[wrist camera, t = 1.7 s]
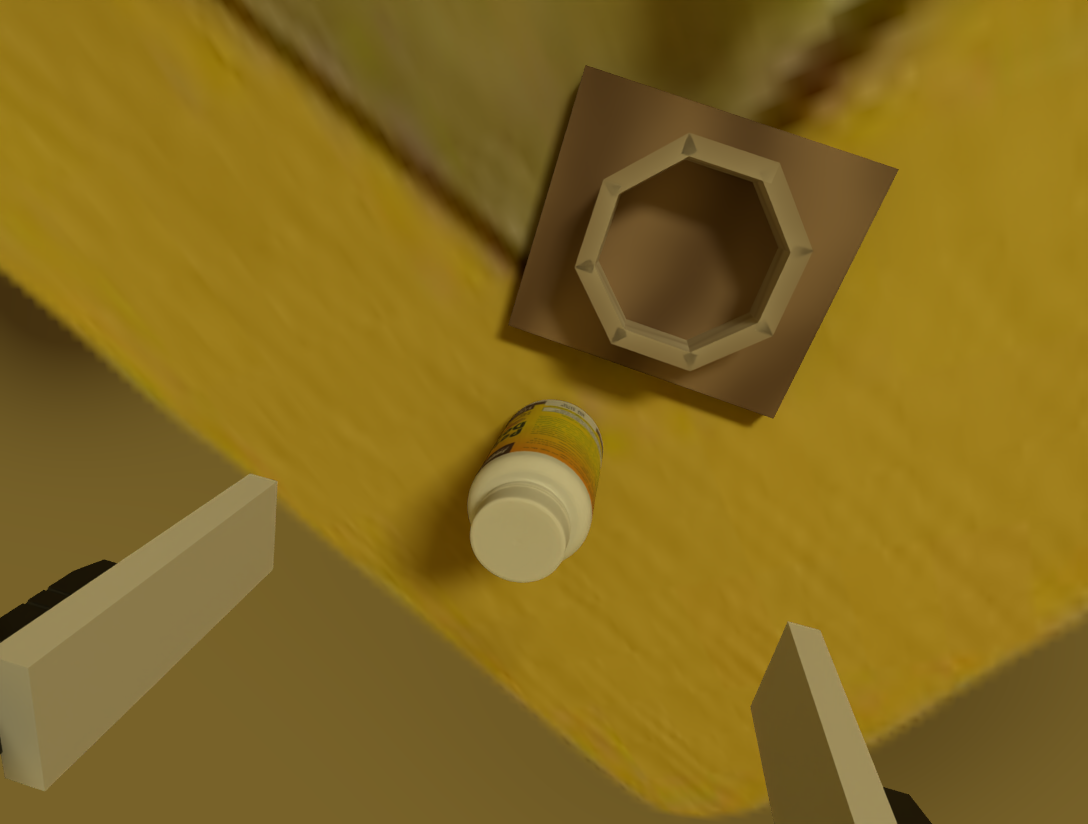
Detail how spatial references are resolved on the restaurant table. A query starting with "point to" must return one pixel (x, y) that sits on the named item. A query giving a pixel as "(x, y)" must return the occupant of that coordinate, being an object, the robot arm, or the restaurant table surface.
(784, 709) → the robot arm
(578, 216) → the holder
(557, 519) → the supplement bottle
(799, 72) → the restaurant table surface
